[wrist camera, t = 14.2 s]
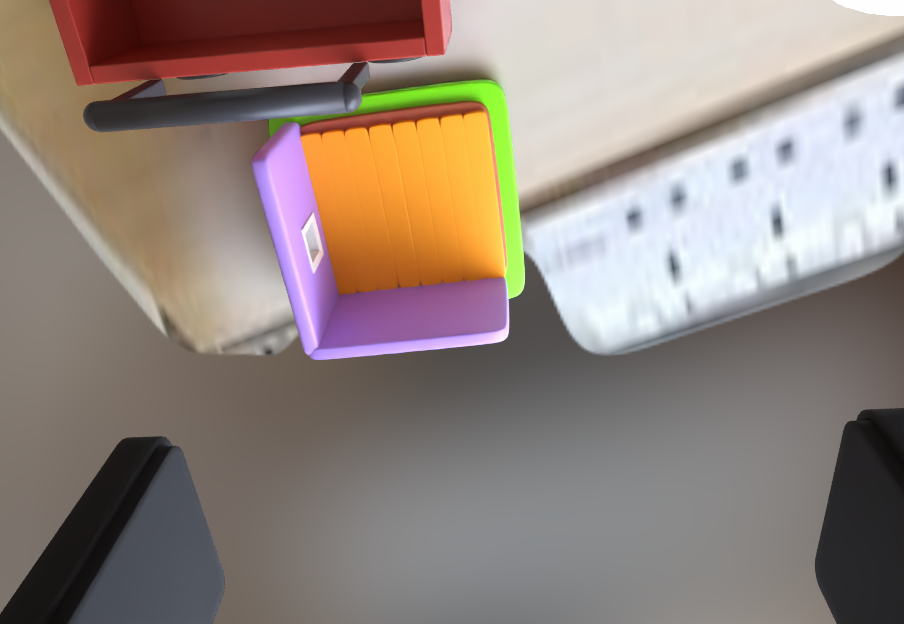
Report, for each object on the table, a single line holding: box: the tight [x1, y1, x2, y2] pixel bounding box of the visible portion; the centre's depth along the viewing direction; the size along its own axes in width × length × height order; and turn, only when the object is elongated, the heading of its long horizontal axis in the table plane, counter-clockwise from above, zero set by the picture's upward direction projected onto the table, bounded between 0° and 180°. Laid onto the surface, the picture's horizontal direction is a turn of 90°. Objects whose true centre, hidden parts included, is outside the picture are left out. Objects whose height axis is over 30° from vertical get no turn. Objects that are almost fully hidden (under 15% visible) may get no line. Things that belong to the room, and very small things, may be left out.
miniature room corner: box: [251, 79, 525, 360], centre depth 35 cm, size 12×12×7 cm
